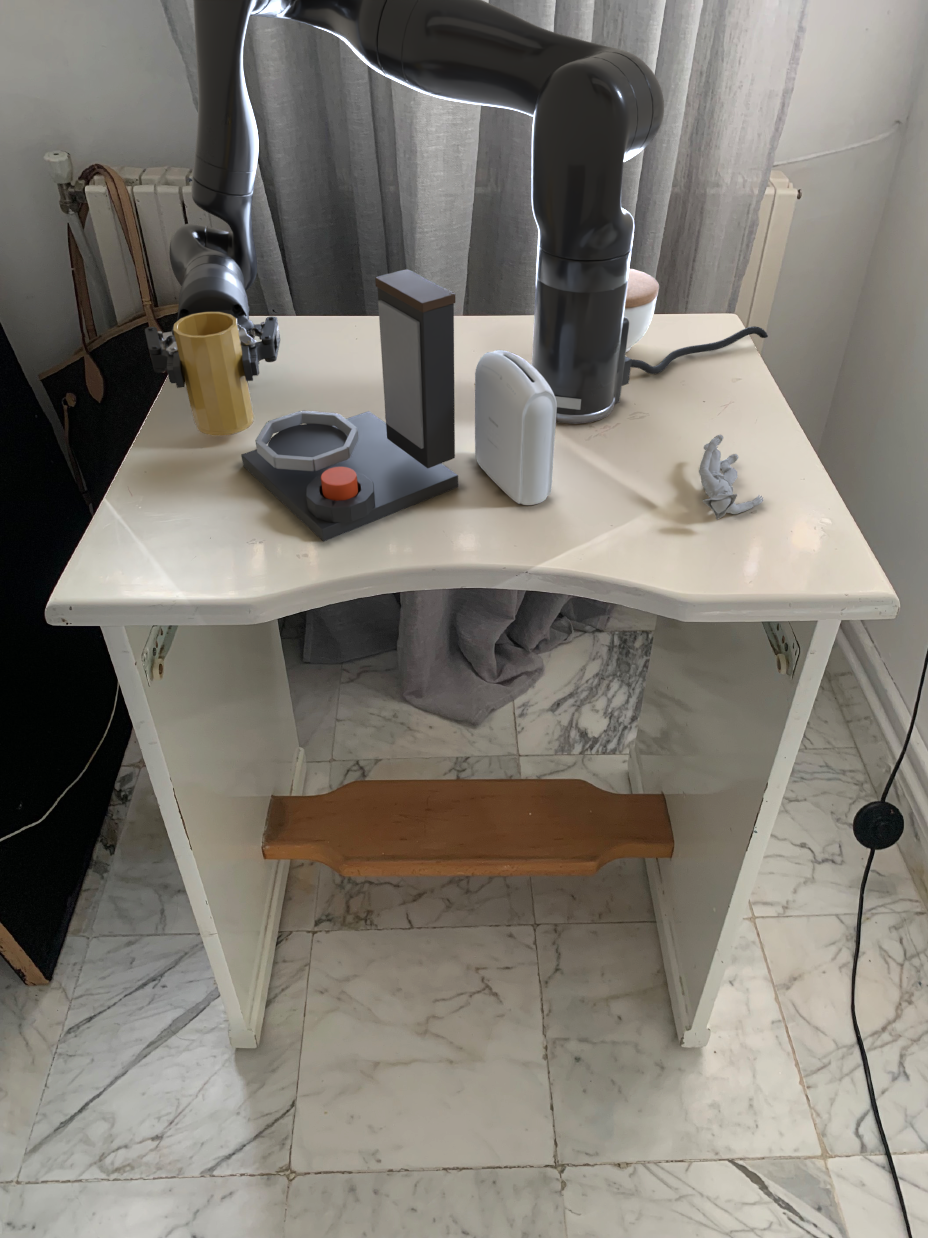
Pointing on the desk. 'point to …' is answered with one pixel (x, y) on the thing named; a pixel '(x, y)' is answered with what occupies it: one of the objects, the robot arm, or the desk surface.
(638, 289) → the trinket box
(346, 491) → the button
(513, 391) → the photo printer
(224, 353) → the cup
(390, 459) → the brewer base
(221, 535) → the desk surface
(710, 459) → the soldier figure
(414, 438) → the coffee maker
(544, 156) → the robot arm
